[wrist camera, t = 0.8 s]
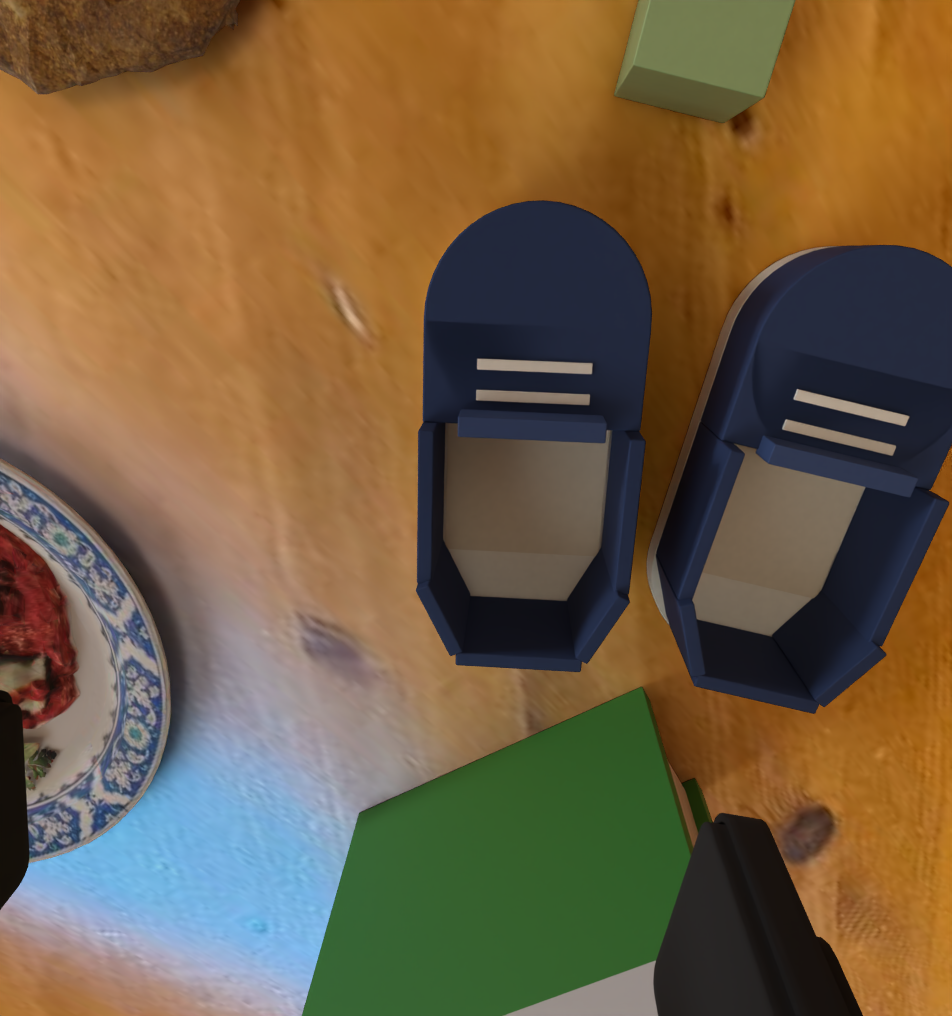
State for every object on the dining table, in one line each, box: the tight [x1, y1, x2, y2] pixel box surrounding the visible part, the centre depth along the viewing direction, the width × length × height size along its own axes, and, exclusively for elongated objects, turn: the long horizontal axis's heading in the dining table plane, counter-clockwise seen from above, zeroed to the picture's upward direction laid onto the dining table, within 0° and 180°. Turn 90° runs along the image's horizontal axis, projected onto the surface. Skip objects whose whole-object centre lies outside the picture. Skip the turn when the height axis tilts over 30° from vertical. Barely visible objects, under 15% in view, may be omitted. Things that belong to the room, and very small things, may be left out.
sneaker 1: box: [416, 201, 652, 672], centre depth 31 cm, size 19×9×7 cm, turn 178°
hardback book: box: [302, 687, 713, 1016], centre depth 30 cm, size 18×7×24 cm, turn 120°
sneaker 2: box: [647, 245, 952, 714], centre depth 31 cm, size 19×9×7 cm, turn 167°
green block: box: [614, 0, 795, 123], centre depth 27 cm, size 5×5×5 cm
